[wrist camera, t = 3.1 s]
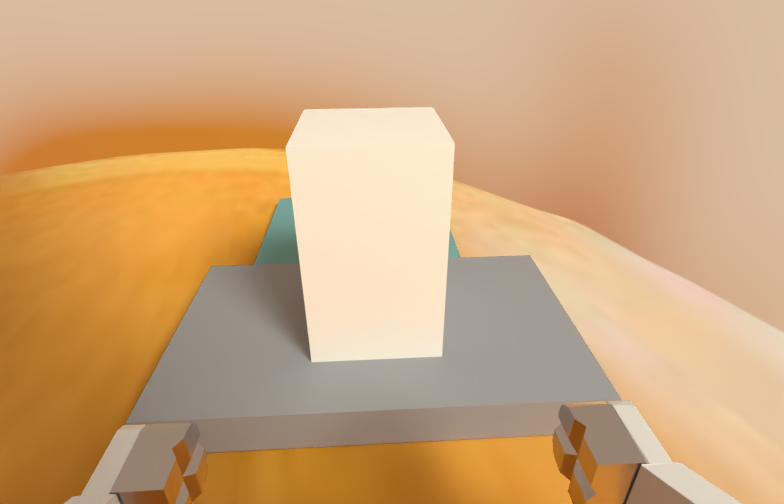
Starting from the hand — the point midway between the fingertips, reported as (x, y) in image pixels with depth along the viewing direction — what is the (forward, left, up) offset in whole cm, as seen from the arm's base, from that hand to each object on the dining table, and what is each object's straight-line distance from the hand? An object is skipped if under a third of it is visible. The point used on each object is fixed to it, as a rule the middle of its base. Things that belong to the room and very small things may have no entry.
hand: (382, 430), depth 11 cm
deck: (0, +12, -8) cm, 15 cm away
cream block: (0, +12, -6) cm, 14 cm away
